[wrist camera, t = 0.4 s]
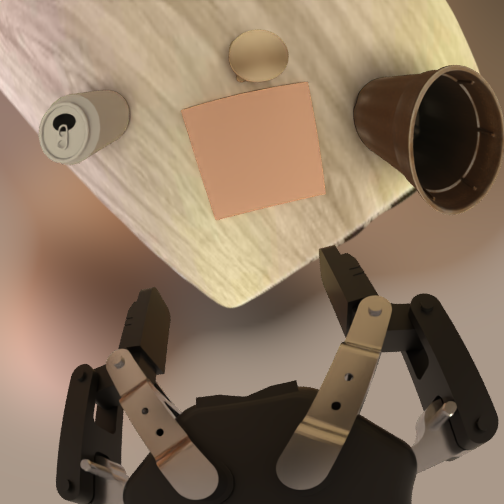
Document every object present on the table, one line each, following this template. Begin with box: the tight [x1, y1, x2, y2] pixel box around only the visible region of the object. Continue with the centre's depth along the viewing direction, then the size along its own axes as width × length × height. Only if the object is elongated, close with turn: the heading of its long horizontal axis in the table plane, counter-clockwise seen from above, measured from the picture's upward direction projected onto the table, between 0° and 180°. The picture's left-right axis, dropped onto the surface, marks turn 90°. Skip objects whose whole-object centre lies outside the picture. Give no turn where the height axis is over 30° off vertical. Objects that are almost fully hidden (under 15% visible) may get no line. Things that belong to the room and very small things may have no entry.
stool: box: [229, 30, 288, 82], centre depth 25 cm, size 6×6×6 cm
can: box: [39, 90, 130, 165], centre depth 25 cm, size 8×8×12 cm
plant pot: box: [354, 65, 504, 215], centre depth 26 cm, size 16×16×16 cm
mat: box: [181, 82, 326, 220], centre depth 35 cm, size 16×16×1 cm
